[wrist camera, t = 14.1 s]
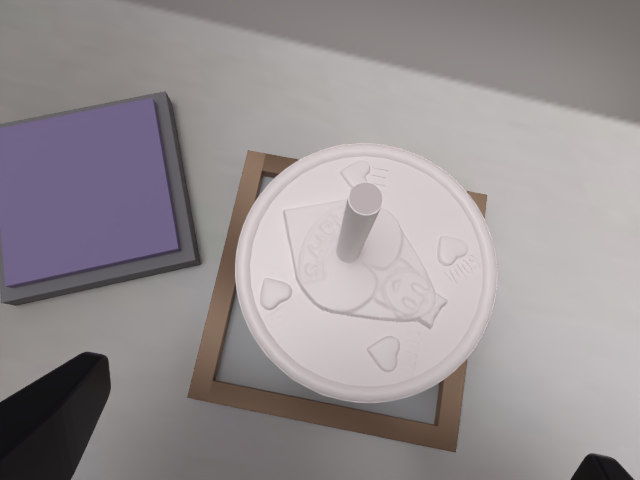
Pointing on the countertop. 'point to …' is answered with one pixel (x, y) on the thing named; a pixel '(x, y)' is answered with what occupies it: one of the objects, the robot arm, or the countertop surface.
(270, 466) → the countertop surface
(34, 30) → the countertop surface
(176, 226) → the ink pad
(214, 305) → the marked square
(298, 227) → the smoothie
